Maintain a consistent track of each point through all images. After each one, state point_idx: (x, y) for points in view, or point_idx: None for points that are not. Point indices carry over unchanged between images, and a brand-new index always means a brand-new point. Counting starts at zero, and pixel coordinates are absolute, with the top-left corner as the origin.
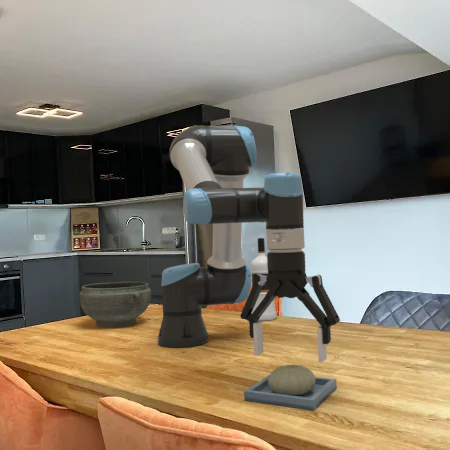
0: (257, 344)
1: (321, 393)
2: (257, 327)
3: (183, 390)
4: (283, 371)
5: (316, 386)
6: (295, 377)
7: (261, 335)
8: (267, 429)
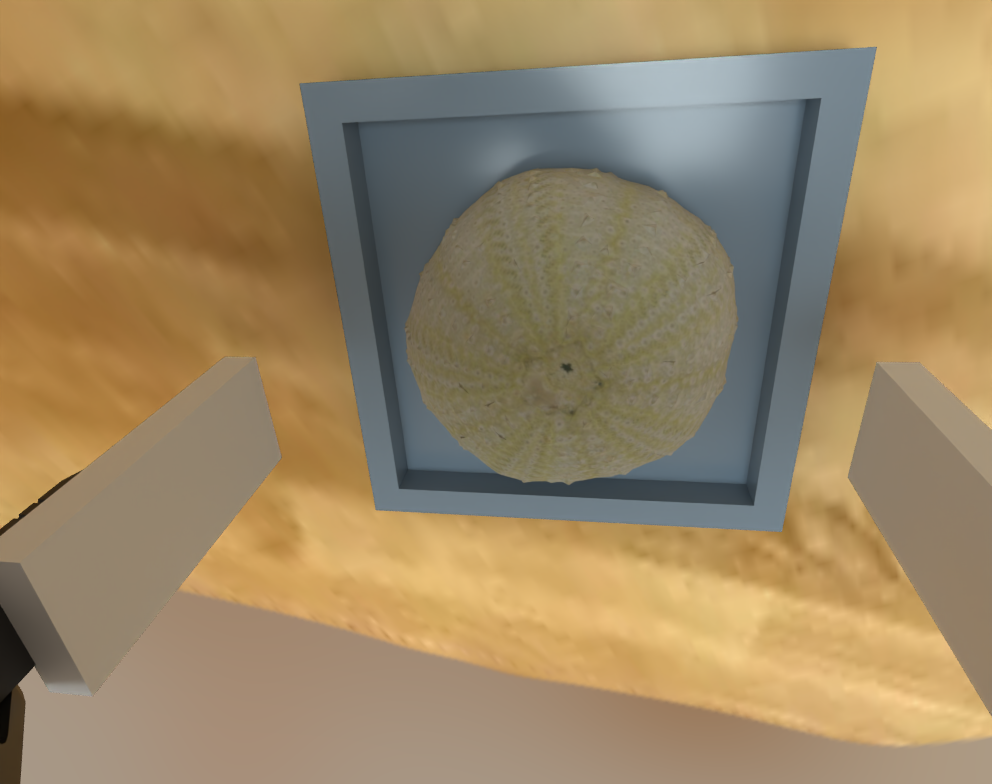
0: (234, 514)
1: (804, 413)
2: (120, 632)
3: (52, 447)
4: (541, 464)
5: (701, 160)
6: (638, 463)
7: (163, 472)
8: (635, 694)
